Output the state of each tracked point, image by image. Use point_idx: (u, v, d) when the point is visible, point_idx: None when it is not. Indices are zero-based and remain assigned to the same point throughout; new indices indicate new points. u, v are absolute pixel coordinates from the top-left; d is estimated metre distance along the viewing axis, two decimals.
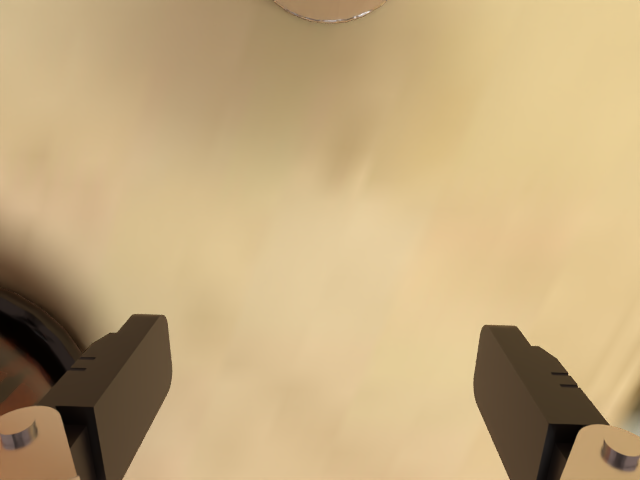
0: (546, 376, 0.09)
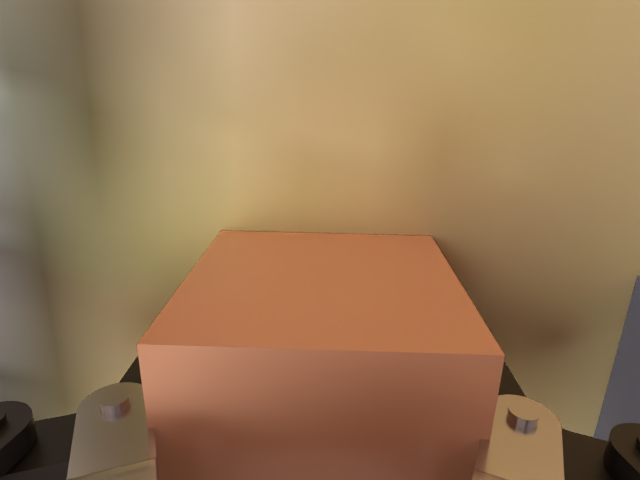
0: None
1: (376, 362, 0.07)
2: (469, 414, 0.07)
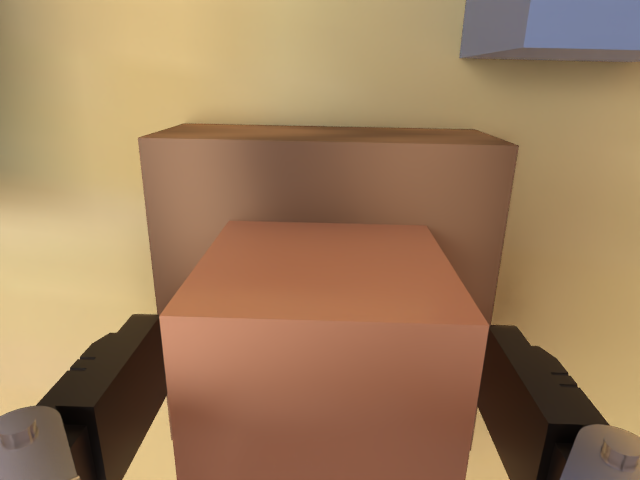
0: (546, 376, 0.09)
1: (374, 333, 0.08)
2: (457, 380, 0.08)
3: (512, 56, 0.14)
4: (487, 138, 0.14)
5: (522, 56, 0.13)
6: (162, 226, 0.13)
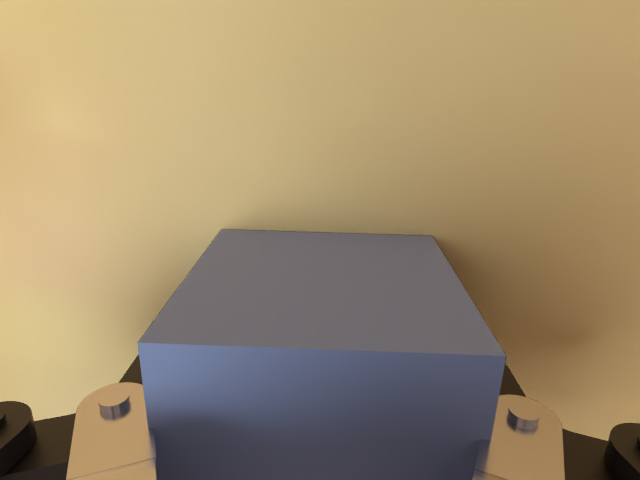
0: None
1: None
2: None
3: None
4: None
5: None
6: None
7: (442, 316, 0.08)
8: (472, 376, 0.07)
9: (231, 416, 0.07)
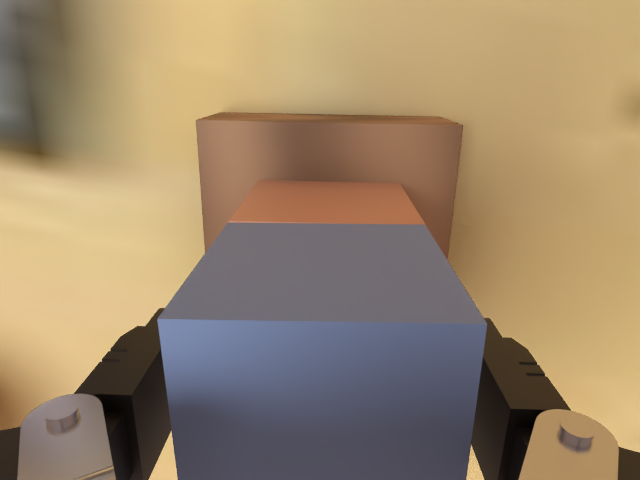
0: (513, 365, 0.09)
1: None
2: None
3: None
4: (444, 121, 0.19)
5: None
6: (211, 184, 0.18)
7: (431, 293, 0.09)
8: (457, 344, 0.08)
9: (243, 385, 0.08)
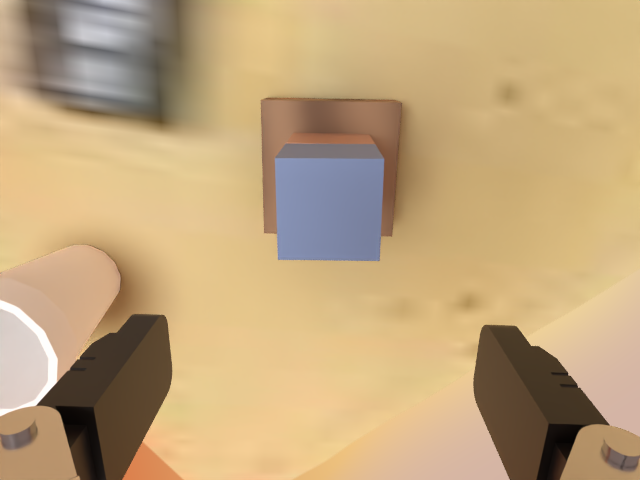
0: (546, 376, 0.09)
1: None
2: None
3: None
4: (394, 101, 0.34)
5: None
6: (267, 135, 0.34)
7: (369, 155, 0.24)
8: (374, 166, 0.23)
9: (302, 183, 0.24)
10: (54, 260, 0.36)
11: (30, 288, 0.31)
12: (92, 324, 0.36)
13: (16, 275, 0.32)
